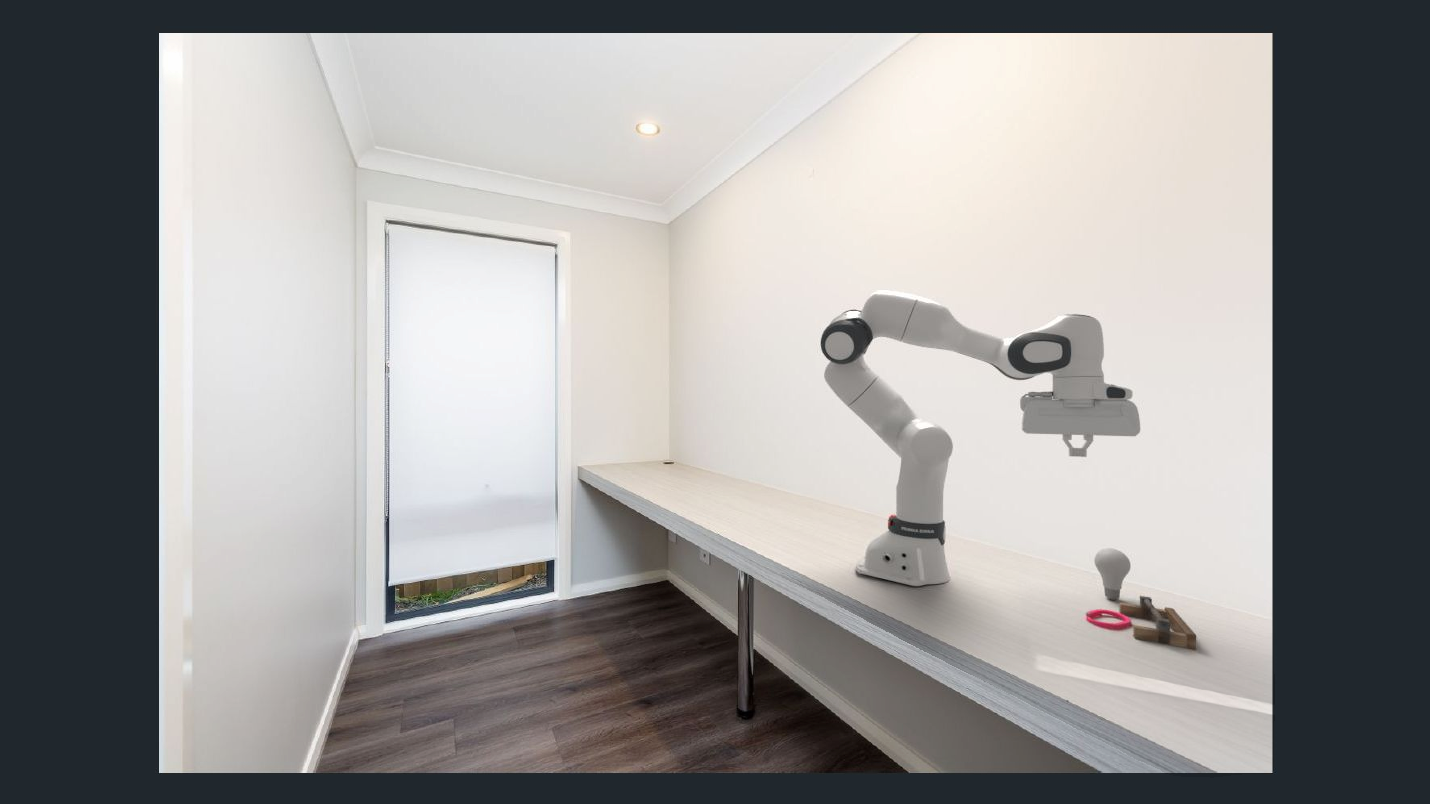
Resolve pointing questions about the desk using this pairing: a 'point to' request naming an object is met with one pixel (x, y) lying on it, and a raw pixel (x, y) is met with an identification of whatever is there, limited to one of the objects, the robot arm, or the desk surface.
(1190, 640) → the wooden bar clamp
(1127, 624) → the fitness band
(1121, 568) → the lightbulb
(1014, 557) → the desk surface
